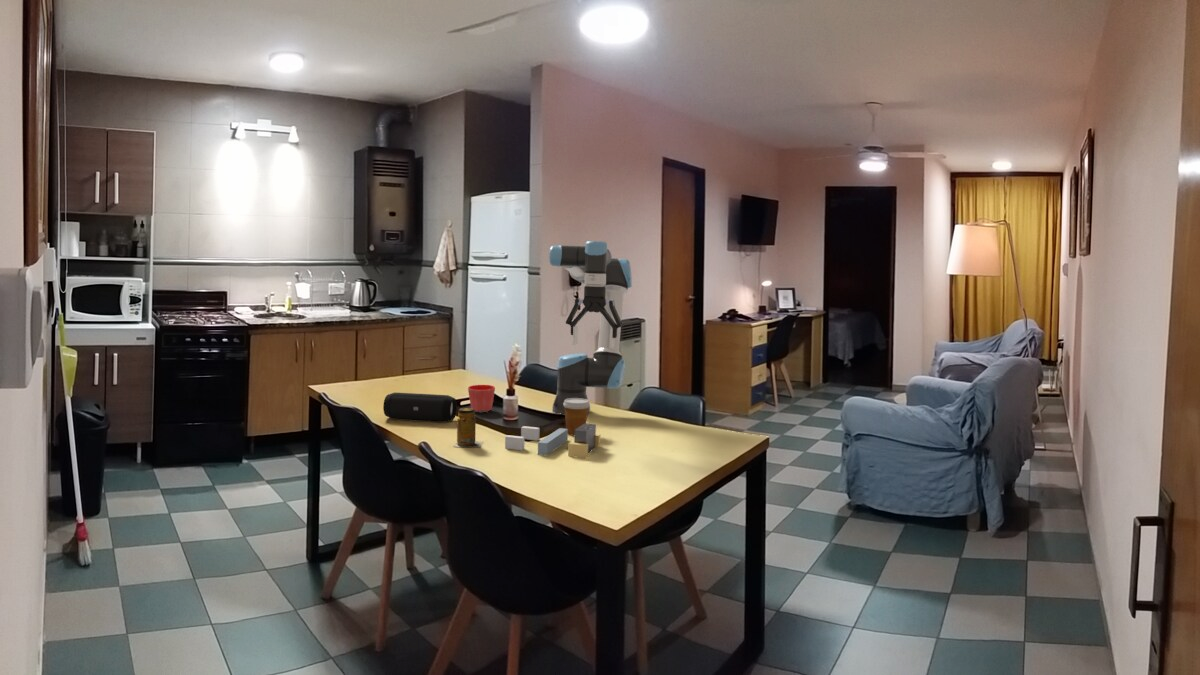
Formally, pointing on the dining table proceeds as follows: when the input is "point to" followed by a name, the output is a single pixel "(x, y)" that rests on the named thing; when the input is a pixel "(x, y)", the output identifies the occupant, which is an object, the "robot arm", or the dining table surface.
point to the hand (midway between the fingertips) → (593, 345)
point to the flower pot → (481, 397)
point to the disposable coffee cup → (575, 413)
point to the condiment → (466, 429)
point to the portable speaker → (420, 407)
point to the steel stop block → (586, 435)
